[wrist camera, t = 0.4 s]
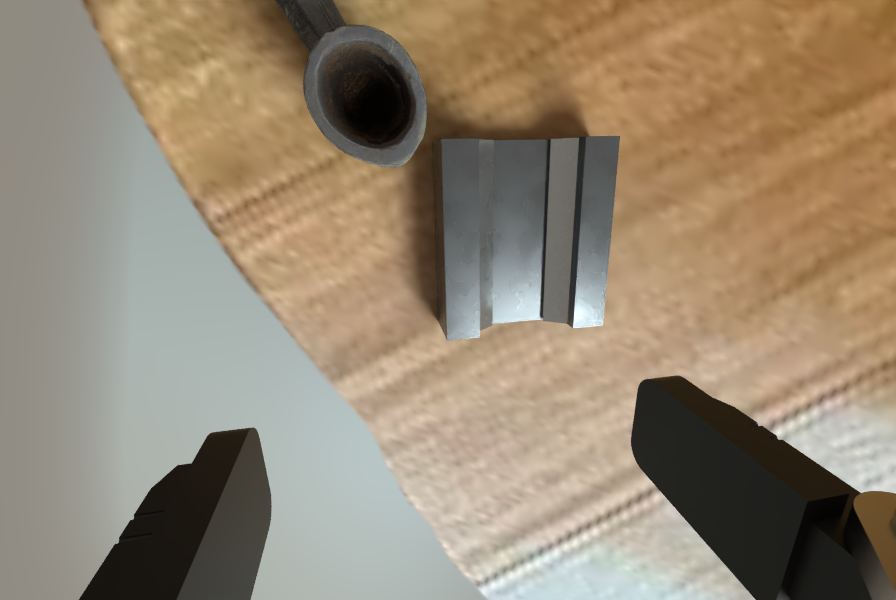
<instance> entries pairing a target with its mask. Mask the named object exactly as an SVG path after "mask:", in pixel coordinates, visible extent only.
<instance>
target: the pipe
mask: <svg viewBox="0 0 896 600" xmlns="http://www.w3.org/2000/svg"><path fill="white" fill-rule="evenodd" d="M274 1H275V2H276V4H277V5H278V7H279V8H280V10H281V11H282V13H283V14H284V16H285V17H286V19H287V20H288V22H289V23H290V25H291V27H292V28H293V30H294V31H295V33H296V34H297V36H298V37H299V39H300V40H301V42H302V43H303V45H304V46H305V48H306V49H307V50H308V52H309V53H310V55H309V58H308V60H307V64H306V67H305V71H304V79H303V89H304V96H305V100H306V103H307V107H308V109H309V111H310V114H311V116H312V118H313V120H314V121H315V123H316V124H317V126H318V128H319V129H320V131H321V132H322V133H323V134H324V136H325V137H326V138H327V139H328V140H329V141H330V142H331V143H332V144H333V145H335V146H336V147H337V148H338V149H340V150H341V151H343V152H344V153H346V154H348V155H350V156H352V157H354V158H356V159H359V160H362V161H365V162H367V163H370V164H374V165H377V166H381V167H400V166H402V165H404V164H405V163H406V162H407V161H409V160H410V158H411V157H412V155H413V154H414V153H415V151H416V149H417V147H418V145H419V144H420V142H421V140H422V139H423V136H424V132H425V129H426V118H427V105H426V95H425V91H424V87H423V84H422V81H421V78H420V75H419V72H418V70H417V67H416V66H415V64H414V63H413V61H412V59H411V58H410V56H409V55H408V53H407V52H406V51H405V49H404V48H403V47H402V46H401V45H400V44H399V43H398V42H397V41H396V40H395V39H394V38H392V37H391V36H390V35H388V34H386V33H385V32H383V31H381V30H378V29H376V28H373V27H369V26H365V25H348V26H346V24H345V22H344V20H343V19H342V17H341V15H340V13H339V11H338V9H337V7H336V6H335V4H334V2H333V0H274Z"/></svg>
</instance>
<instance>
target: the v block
mask: <svg viewBox="0 0 896 600" xmlns="http://www.w3.org/2000/svg"><path fill="white" fill-rule="evenodd" d="M619 141H620V136H588V137H579V138H560V139H534V140H480V139H479V138H469V139H440V140H437V141H435V142H432V146H433V175H434V203H435V232H436V261H437V289H438V318H439V324H440V326H441V328H442V330H443V332H444V335H445V337H446V339H447V340H456V339H467V338H477V337H480V330H483V329H485V328H487V327H490V326H492V325H493V324H495V323H506V322H517V321H528V320H539V319H543V321H550V322H558V323H566V324H568V325H570V326H571V327H572V328H581V327H592V326H602V325H603V317H604V306H605V295H606V284H607V273H608V262H609V251H610V240H611V229H612V218H613V207H614V196H615V185H616V174H617V163H618V152H619Z"/></svg>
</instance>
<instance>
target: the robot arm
mask: <svg viewBox="0 0 896 600" xmlns="http://www.w3.org/2000/svg"><path fill="white" fill-rule="evenodd" d="M631 446H632V451H633V455H634V457H635V460H636V462H637V464H638V465H639V467H640V468H641V470H642V471H643V472H644V473H645V474H646V475H647V476H648V478H649V479H650V480H651V481H652V482H653V483H654V484H655V486H656V487H657V488H658V489H659V490H660V491H661V492H662V493H663V495H664V496H665V497H666V498H667V499H668V500H669V501H670V503H671V504H672V505H673V506H674V507H675V508H676V509H677V511H678V512H679V513H680V514H681V515H682V516H683V517H684V518H685V520H686V521H687V522H688V523H689V524H690V525H691V526H692V528H693V529H694V530H695V531H696V532H697V533H698V534H699V536H700V537H701V538H702V539H703V540H704V541H705V542H706V544H707V545H708V546H709V547H710V548H711V549H712V550H713V551H714V553H715V554H716V555H717V556H718V557H719V558H720V559H721V561H722V562H723V563H724V564H725V565H726V566H727V567H728V569H729V570H730V571H731V572H732V573H733V574H734V575H735V577H736V578H737V579H738V580H739V581H740V582H741V583H742V584H743V586H744V587H745V588H746V589H747V590H748V591H749V592H750V594H751V595H752V596H753V597H754V598H755V599H756V600H896V494H895V493H890V492H882V491H869V492H864V493H860V492H858V491H857V490H855V489H854V488H853V487H851V486H850V485H848V484H847V483H845V482H844V481H842V480H841V479H839V478H838V477H836V476H835V475H833V474H832V473H831V472H829V471H828V470H826V469H825V468H823V467H822V466H820V465H819V464H817V463H816V462H814V461H813V460H811V459H810V458H808V457H807V456H806V455H804V454H803V453H801V452H800V451H798V450H797V449H795V448H794V447H792V446H791V445H789V444H788V443H786V442H785V441H783V440H778V439H777V436H776V435H775V434H773V433H772V432H770V431H769V430H767V429H766V428H764V427H763V426H758V424H757V422H756V421H754V420H753V419H751V418H750V417H748V416H747V415H745V414H744V413H742V412H741V411H739V410H738V409H736V408H735V407H733V406H731V405H728V404H726V403H724V402H721V401H719V400H717V399H715V398H712V397H711V396H709V395H708V394H706V393H705V392H704V391H702V390H701V389H699V388H698V387H696V386H695V385H693V384H692V383H691V382H689V381H688V380H686V379H685V378H683V377H681V376H669V377H661V378H653V379H646V380H643V381H642V382H641V383H640V385H639V387H638V392H637V399H636V407H635V414H634V421H633V429H632V436H631ZM270 520H271V492H270V487H269V482H268V477H267V472H266V468H265V463H264V458H263V453H262V448H261V443H260V439H259V435H258V432H257V430H256V429H255V428H245V429H237V430H229V431H221V432H213V433H210V434H209V435H208V436H207V438H206V440H205V441H204V443H203V445H202V447H201V448H200V450H199V452H198V453H197V455H196V457H195V459H194V461H193V462H192V464H184V465H178V466H176V467H175V468H174V469H173V470H172V471H171V472H170V473H168V474H167V475H166V476H165V477H164V478H163V479H162V480H161V481H160V482H158V483H157V484H156V485H155V486H153V487H152V488H151V490H150V491H149V492H148V494H147V496H146V497H145V499H144V500H143V502H142V503H141V505H140V506H139V508H138V510H137V511H136V513H135V514H134V520H130V522H129V523H128V525H127V526H126V528H125V529H124V531H123V533H122V534H121V536H120V537H119V543H118V544H115V545H114V546H113V548H112V549H111V551H110V553H109V554H108V556H107V557H106V559H105V560H104V562H103V563H102V565H101V567H100V568H99V570H98V571H97V573H96V574H95V576H94V577H93V579H92V581H91V582H90V584H89V585H88V587H87V588H86V590H85V591H84V593H83V594H82V596H81V597H80V599H79V600H250V599H251V595H252V592H253V588H254V584H255V580H256V576H257V573H258V568H259V565H260V561H261V557H262V553H263V550H264V545H265V541H266V538H267V534H268V530H269V526H270Z"/></svg>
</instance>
